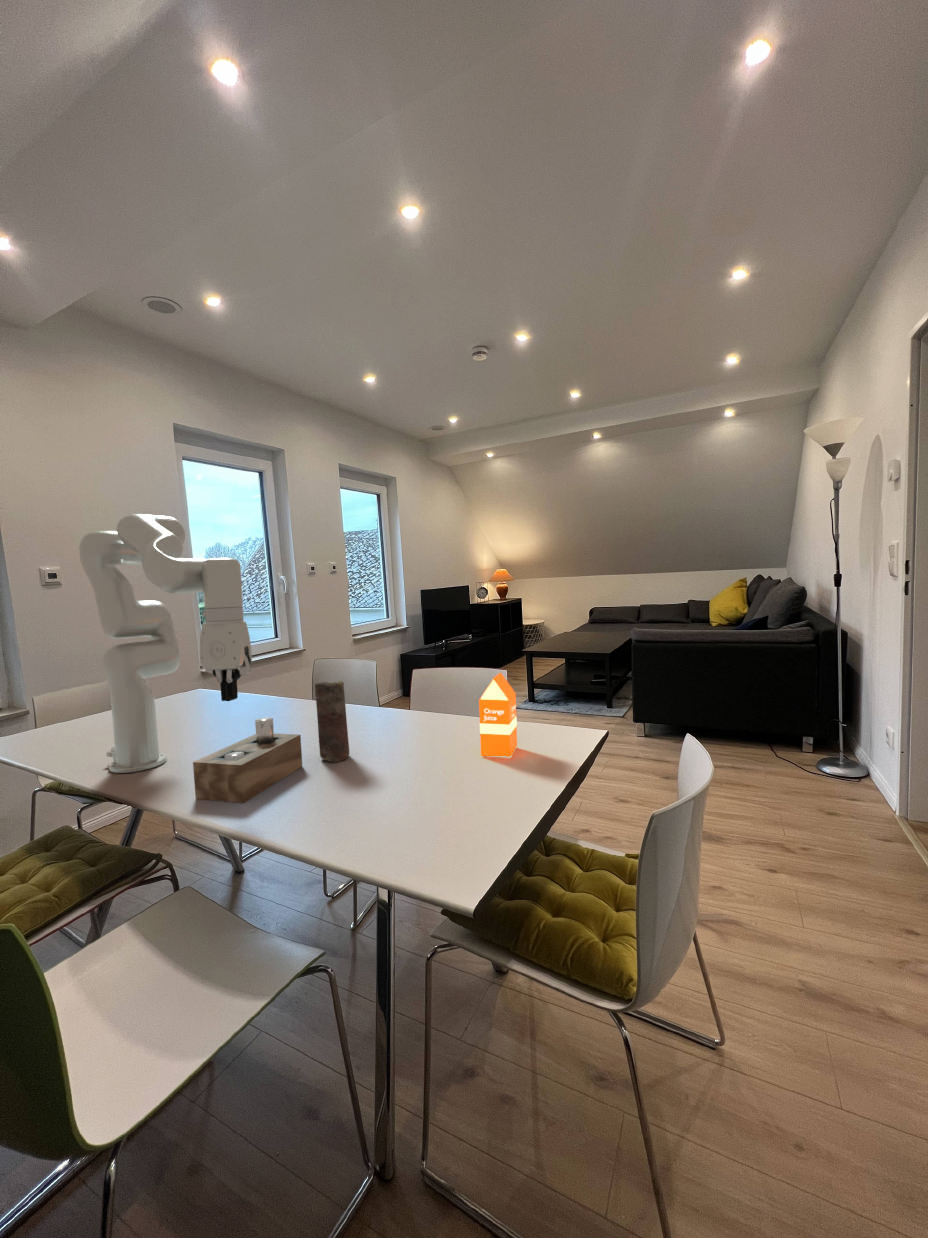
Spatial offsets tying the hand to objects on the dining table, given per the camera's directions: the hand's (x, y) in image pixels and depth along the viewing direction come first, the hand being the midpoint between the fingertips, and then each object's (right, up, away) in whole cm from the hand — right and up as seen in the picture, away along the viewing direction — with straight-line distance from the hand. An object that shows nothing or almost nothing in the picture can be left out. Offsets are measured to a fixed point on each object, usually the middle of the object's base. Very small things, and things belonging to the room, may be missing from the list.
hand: (229, 699), depth 117 cm
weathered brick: (+18, -18, +21) cm, 33 cm away
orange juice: (+60, -17, +21) cm, 66 cm away
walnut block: (+2, -20, +7) cm, 21 cm away
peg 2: (+4, -14, +12) cm, 19 cm away
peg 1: (+1, -20, +1) cm, 20 cm away
